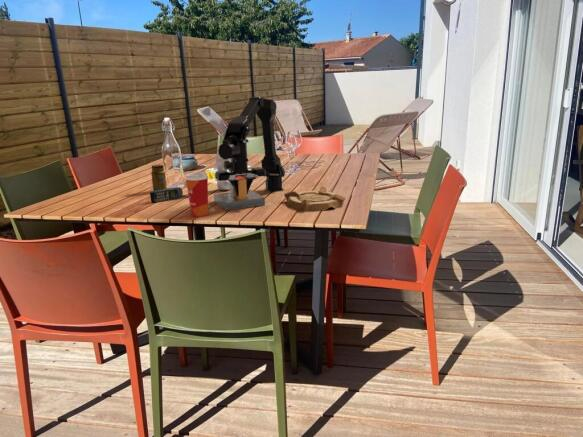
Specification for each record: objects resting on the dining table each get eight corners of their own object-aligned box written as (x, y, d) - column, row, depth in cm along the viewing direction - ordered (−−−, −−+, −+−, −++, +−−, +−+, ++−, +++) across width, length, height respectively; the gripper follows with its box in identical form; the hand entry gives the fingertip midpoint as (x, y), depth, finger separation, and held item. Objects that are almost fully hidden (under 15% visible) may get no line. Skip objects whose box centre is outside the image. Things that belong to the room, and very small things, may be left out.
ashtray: (285, 197, 184) (284, 186, 182) (341, 196, 183) (342, 185, 181) (282, 212, 161) (282, 199, 160) (347, 212, 160) (347, 198, 159)
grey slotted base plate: (251, 196, 185) (250, 178, 183) (265, 205, 171) (264, 185, 169) (214, 201, 178) (212, 182, 176) (225, 210, 164) (224, 189, 162)
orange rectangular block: (247, 200, 170) (246, 179, 168) (239, 201, 168) (238, 180, 166) (244, 198, 173) (243, 178, 170) (236, 199, 171) (235, 179, 169)
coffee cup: (190, 212, 163) (186, 172, 159) (212, 211, 164) (209, 171, 160) (186, 218, 155) (182, 176, 151) (210, 217, 156) (206, 175, 152)
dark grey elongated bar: (151, 192, 177) (185, 186, 185) (148, 191, 179) (182, 185, 187) (152, 204, 178) (187, 197, 186) (150, 202, 180) (184, 196, 189)
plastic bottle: (229, 191, 195) (226, 146, 190) (215, 191, 197) (211, 146, 191) (234, 188, 201) (231, 145, 196) (220, 188, 203) (217, 145, 197)
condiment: (167, 189, 204) (164, 163, 201) (169, 192, 196) (166, 166, 193) (151, 190, 202) (148, 164, 198) (152, 194, 194) (149, 167, 191)
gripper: (255, 151, 176) (257, 189, 181) (210, 155, 169) (213, 194, 173) (265, 154, 167) (266, 194, 171) (217, 158, 159) (220, 200, 164)
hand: (241, 195), depth 170 cm, fingers closed on orange rectangular block, 3 cm apart
